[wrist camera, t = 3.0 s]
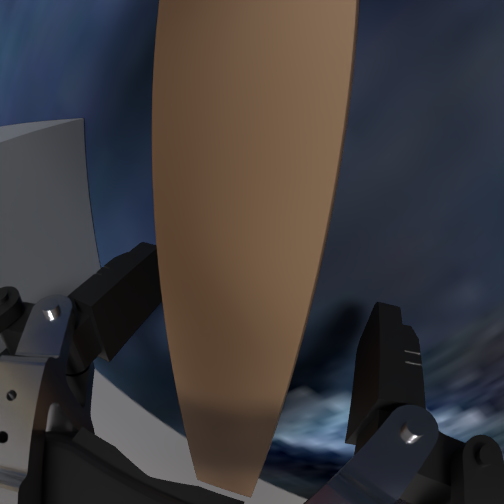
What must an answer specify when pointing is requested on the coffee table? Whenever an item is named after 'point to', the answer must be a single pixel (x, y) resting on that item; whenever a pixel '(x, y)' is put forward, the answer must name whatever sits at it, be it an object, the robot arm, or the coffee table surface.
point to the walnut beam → (244, 206)
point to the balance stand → (45, 210)
